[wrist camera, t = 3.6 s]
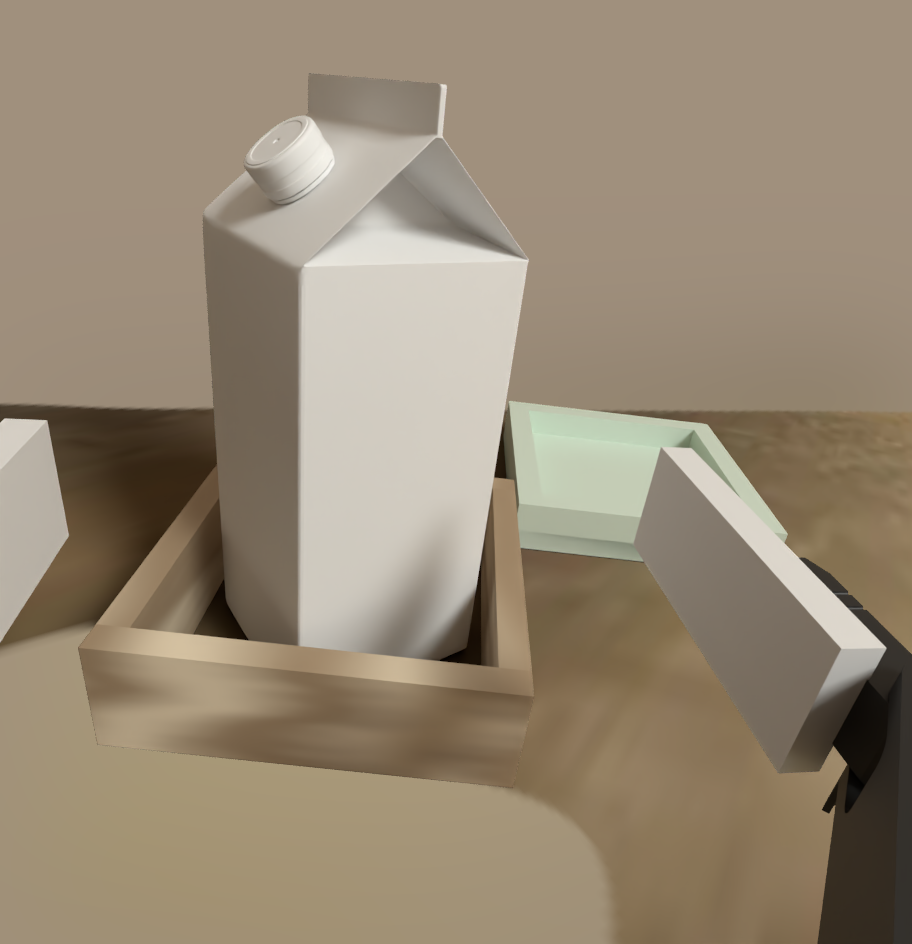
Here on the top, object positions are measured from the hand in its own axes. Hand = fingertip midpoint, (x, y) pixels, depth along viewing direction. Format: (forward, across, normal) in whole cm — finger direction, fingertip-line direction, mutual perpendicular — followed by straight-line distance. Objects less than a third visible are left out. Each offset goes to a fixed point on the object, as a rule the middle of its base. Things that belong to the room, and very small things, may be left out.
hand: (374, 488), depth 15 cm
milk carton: (+8, 0, -11) cm, 14 cm away
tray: (+19, +15, -11) cm, 27 cm away
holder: (+8, 0, -11) cm, 13 cm away
